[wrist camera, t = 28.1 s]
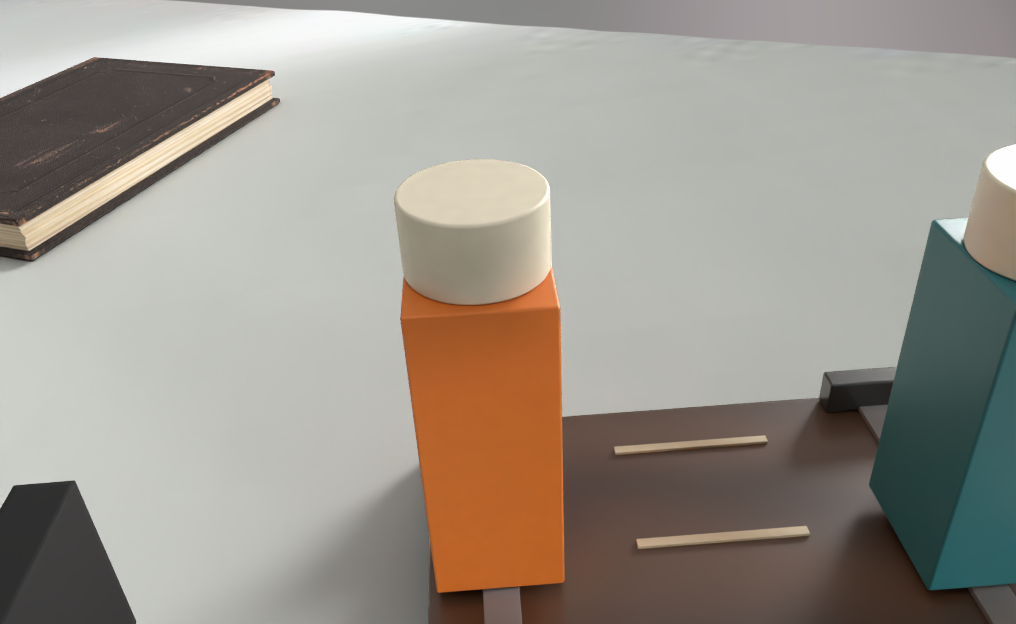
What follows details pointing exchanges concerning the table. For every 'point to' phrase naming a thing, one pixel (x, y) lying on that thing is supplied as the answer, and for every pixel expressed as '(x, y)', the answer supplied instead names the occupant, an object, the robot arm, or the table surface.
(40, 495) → the robot arm
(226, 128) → the hardcover book
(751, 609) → the board
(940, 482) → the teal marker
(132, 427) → the table surface
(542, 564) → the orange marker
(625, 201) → the table surface
